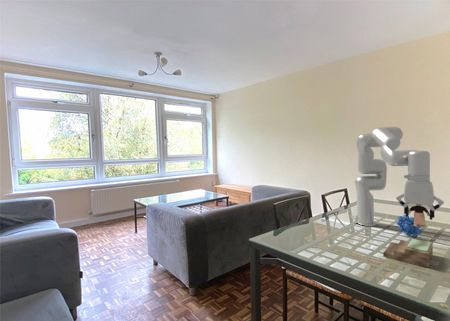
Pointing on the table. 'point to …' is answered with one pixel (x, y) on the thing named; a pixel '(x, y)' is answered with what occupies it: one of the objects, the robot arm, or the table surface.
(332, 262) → the table surface
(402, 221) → the grapes
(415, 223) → the grandmother figurine
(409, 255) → the step riser
